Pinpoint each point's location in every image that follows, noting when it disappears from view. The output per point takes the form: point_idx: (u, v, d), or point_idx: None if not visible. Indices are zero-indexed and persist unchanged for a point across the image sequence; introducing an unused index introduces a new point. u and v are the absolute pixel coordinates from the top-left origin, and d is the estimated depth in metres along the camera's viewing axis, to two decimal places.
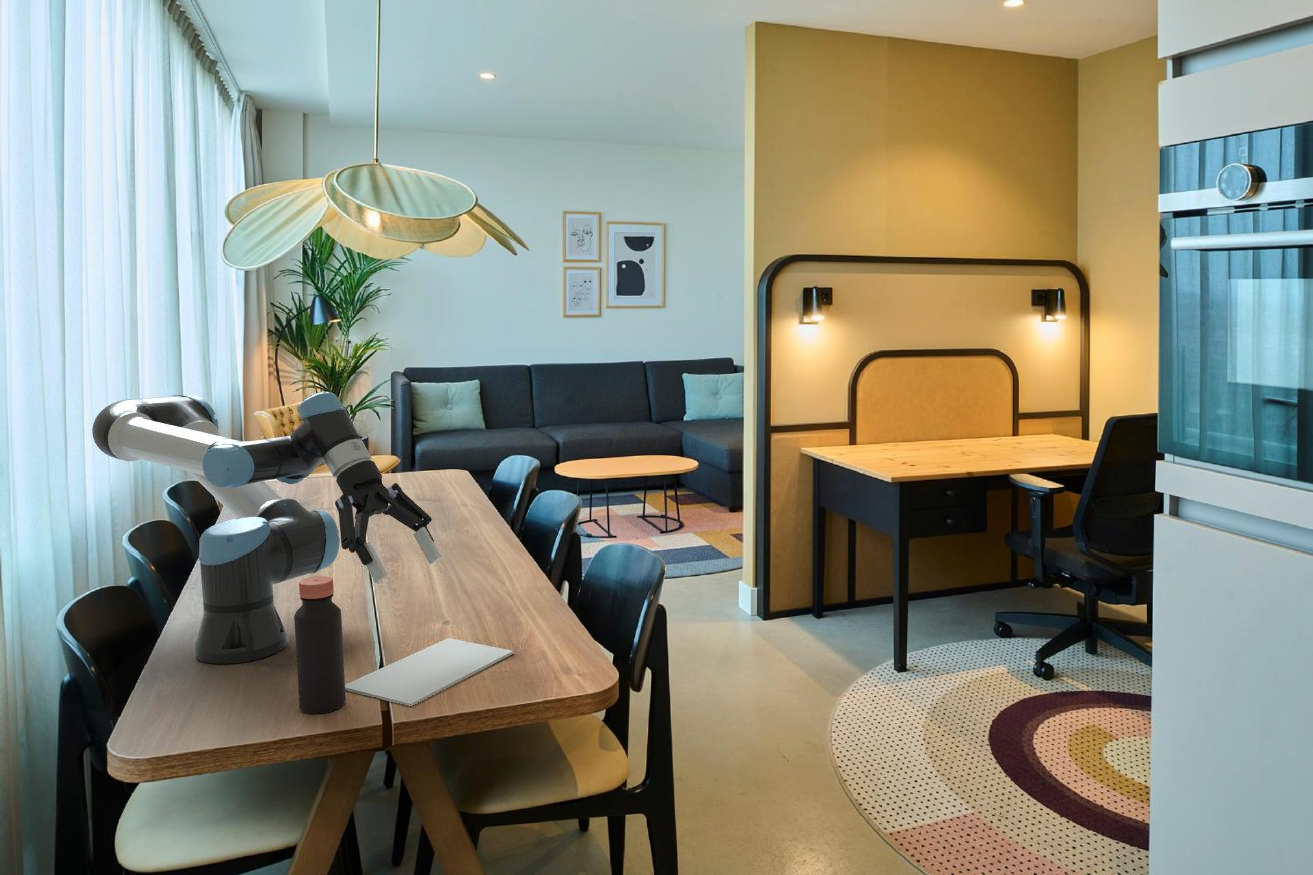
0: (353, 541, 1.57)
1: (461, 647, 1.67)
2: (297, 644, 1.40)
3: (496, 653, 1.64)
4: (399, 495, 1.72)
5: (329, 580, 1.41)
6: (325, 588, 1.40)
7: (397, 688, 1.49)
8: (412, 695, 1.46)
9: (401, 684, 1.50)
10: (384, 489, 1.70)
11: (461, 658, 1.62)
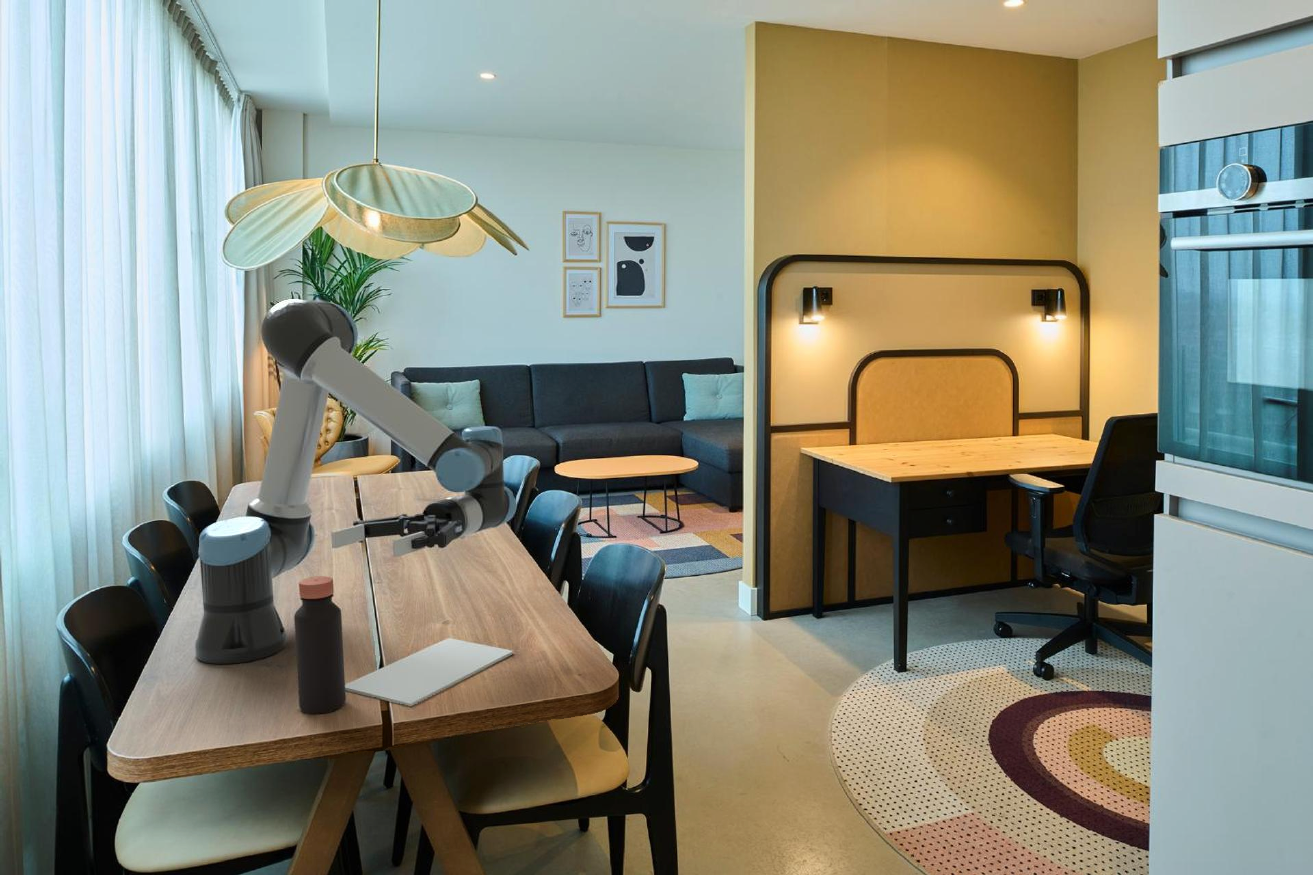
0: (440, 547, 1.51)
1: (461, 647, 1.67)
2: (297, 644, 1.40)
3: (496, 653, 1.64)
4: None
5: (329, 580, 1.41)
6: (325, 588, 1.40)
7: (397, 688, 1.49)
8: (412, 695, 1.46)
9: (401, 684, 1.50)
10: None
11: (461, 658, 1.62)
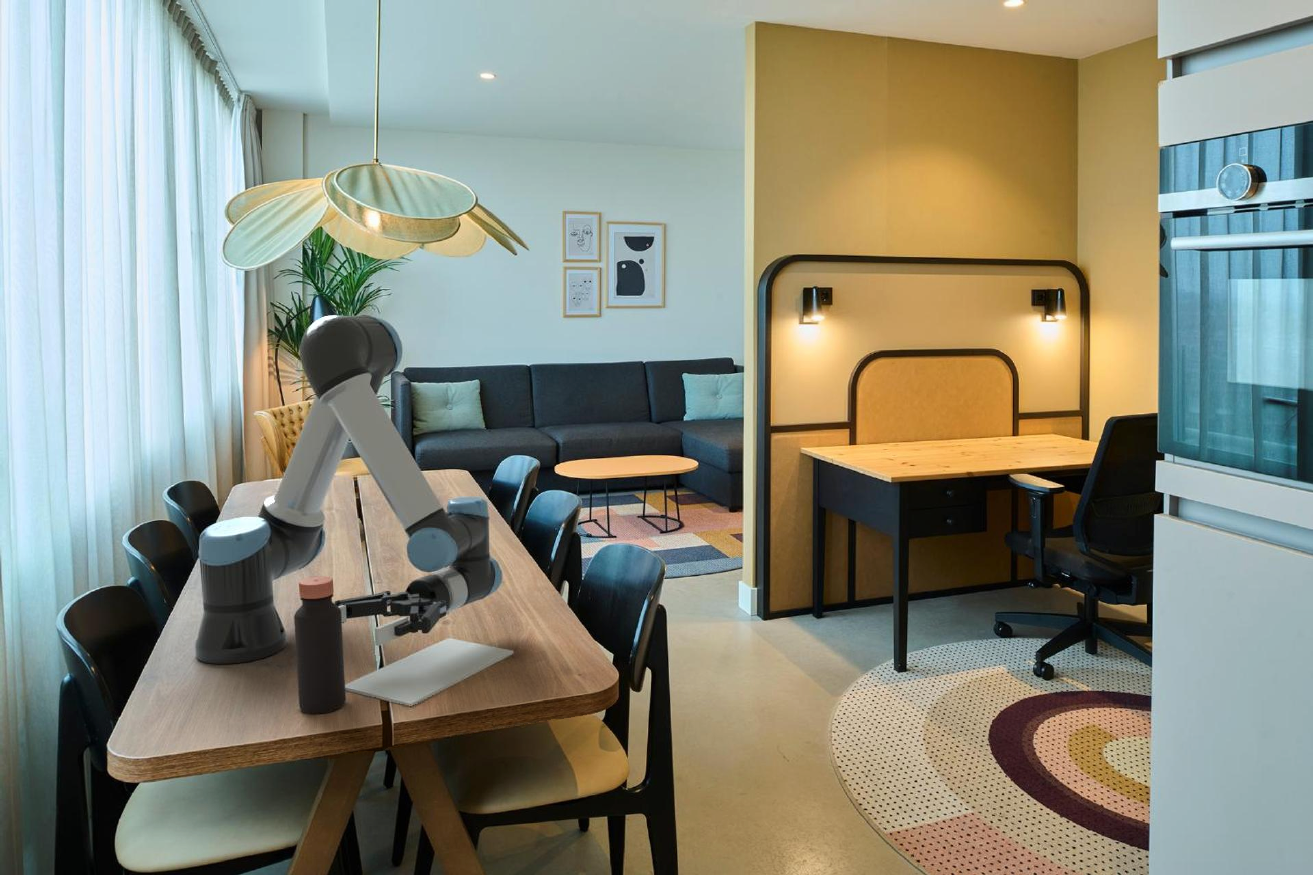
0: None
1: (461, 647, 1.67)
2: (297, 644, 1.40)
3: (496, 653, 1.64)
4: None
5: (329, 580, 1.41)
6: (325, 588, 1.40)
7: (397, 688, 1.49)
8: (412, 695, 1.46)
9: (401, 684, 1.50)
10: None
11: (461, 658, 1.62)
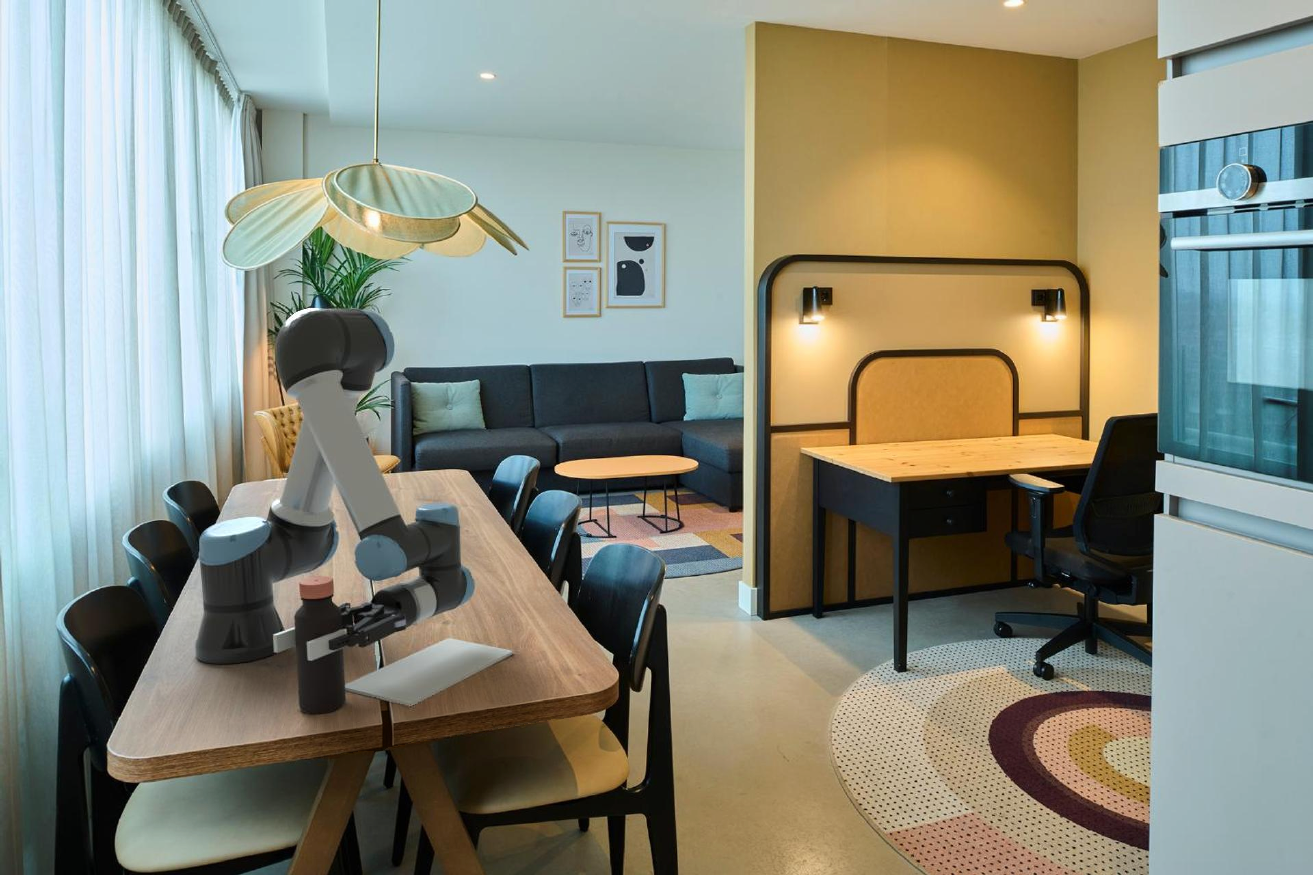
0: (360, 646, 1.41)
1: (461, 647, 1.67)
2: (297, 644, 1.40)
3: (496, 653, 1.64)
4: None
5: (329, 580, 1.41)
6: (326, 588, 1.40)
7: (397, 688, 1.49)
8: (412, 695, 1.46)
9: (401, 684, 1.50)
10: None
11: (461, 658, 1.62)
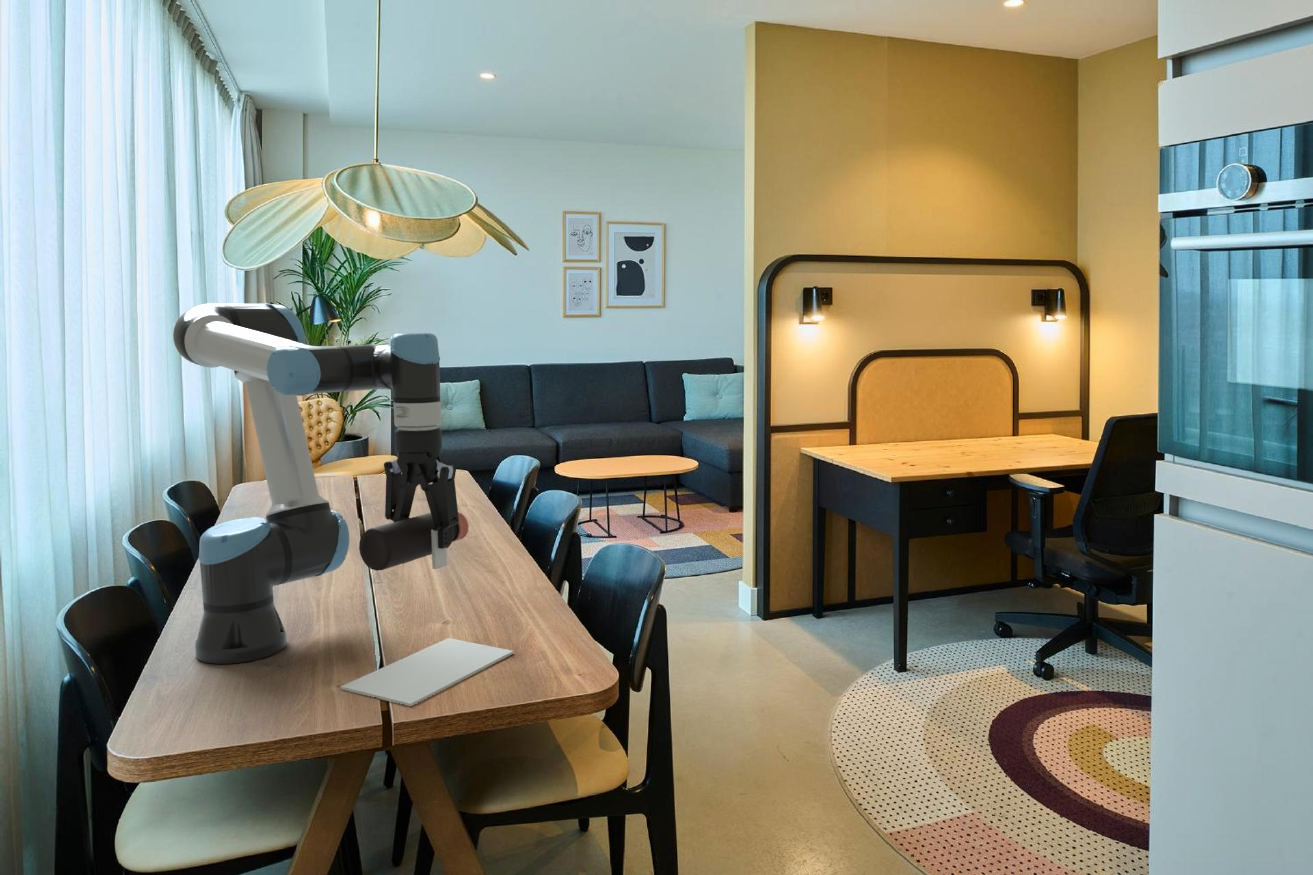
0: (388, 518, 1.55)
1: (461, 647, 1.67)
2: (426, 555, 1.54)
3: (496, 653, 1.64)
4: None
5: None
6: None
7: (397, 688, 1.49)
8: (412, 695, 1.46)
9: (401, 684, 1.50)
10: (429, 463, 1.50)
11: (461, 658, 1.62)
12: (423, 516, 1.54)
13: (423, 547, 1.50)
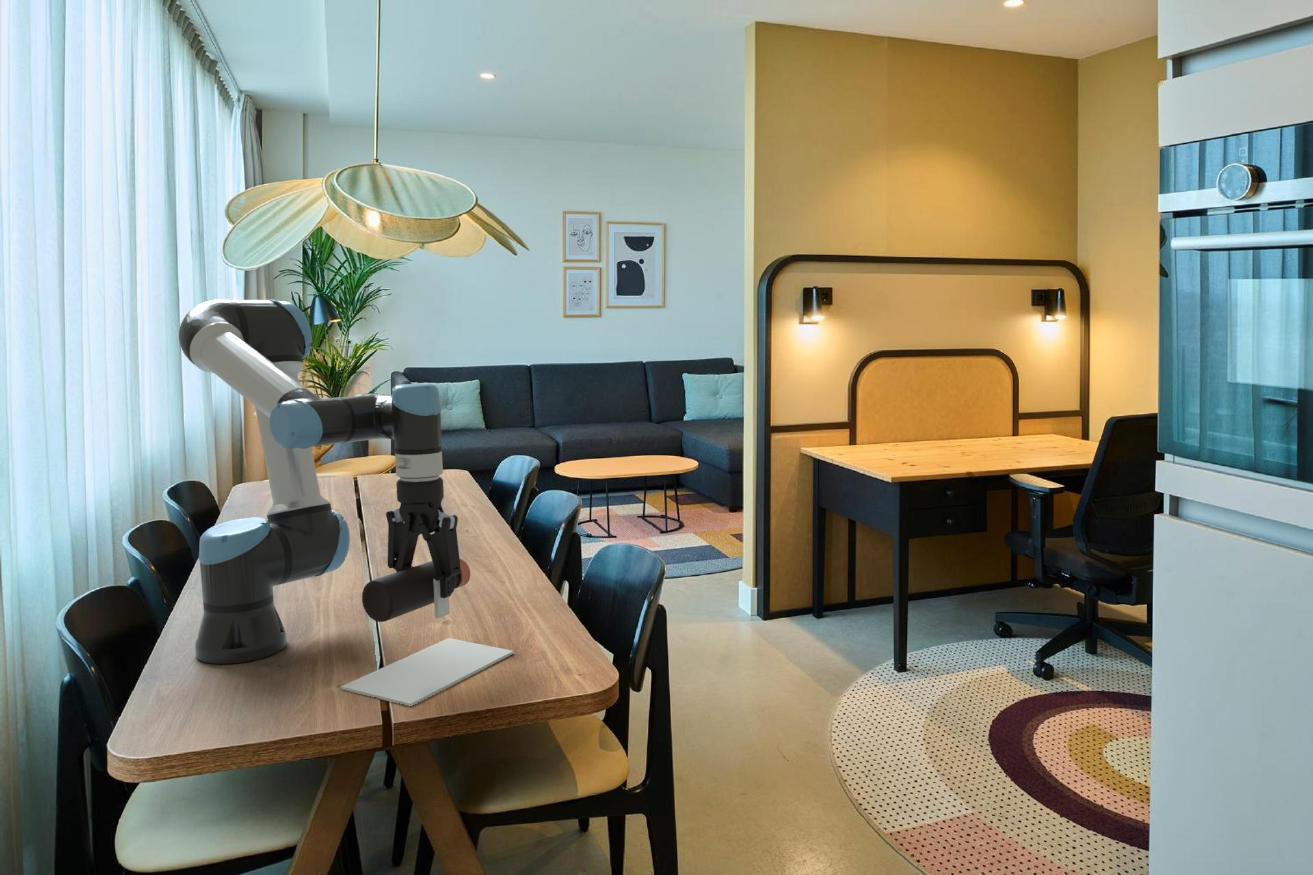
0: (390, 567, 1.56)
1: (461, 647, 1.67)
2: None
3: (496, 653, 1.64)
4: None
5: None
6: None
7: (397, 688, 1.49)
8: (412, 695, 1.46)
9: (401, 684, 1.50)
10: (431, 513, 1.51)
11: (461, 658, 1.62)
12: (425, 565, 1.54)
13: (426, 597, 1.51)
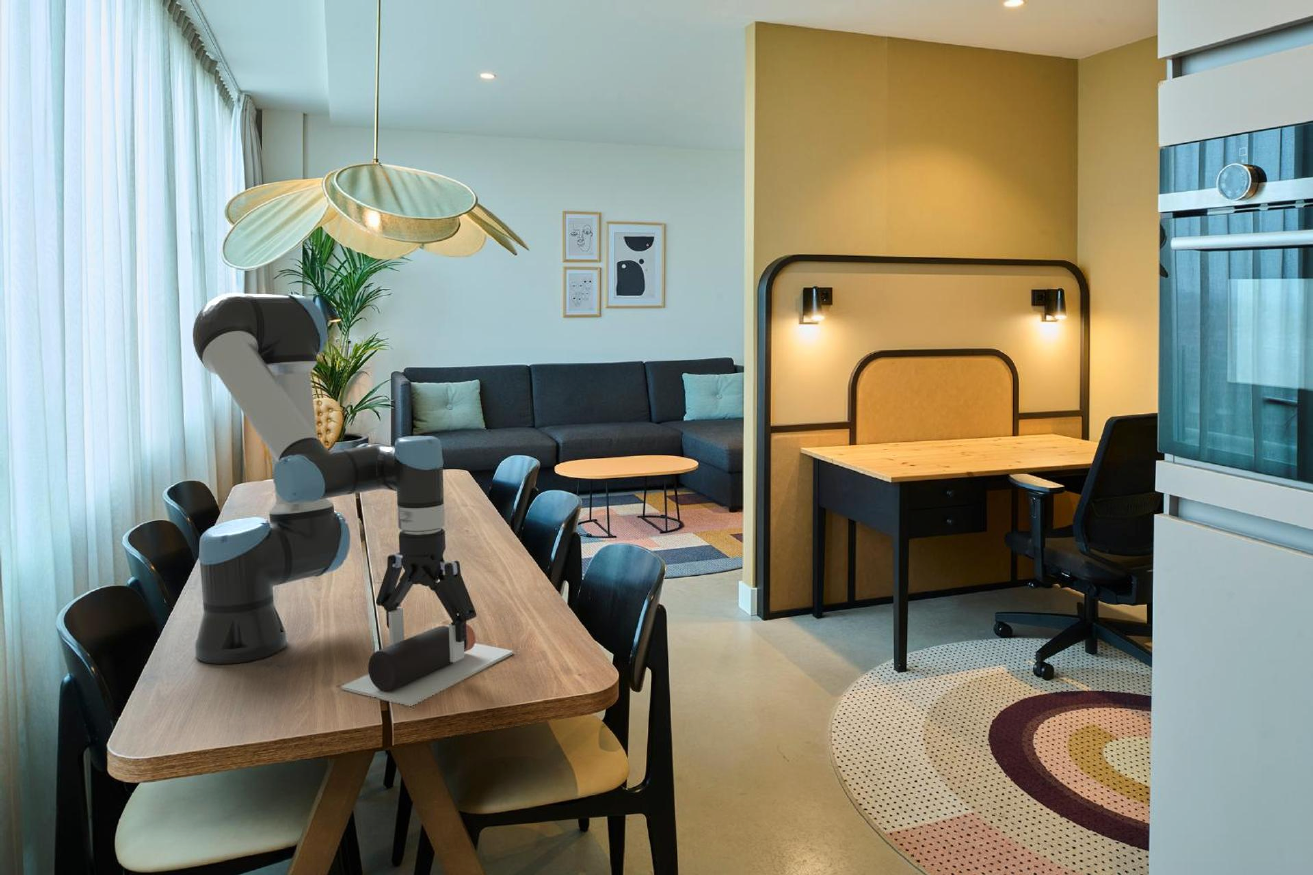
0: (378, 604, 1.59)
1: None
2: None
3: (496, 653, 1.64)
4: None
5: None
6: None
7: None
8: (412, 695, 1.46)
9: None
10: (432, 565, 1.52)
11: None
12: (435, 634, 1.55)
13: (430, 670, 1.52)
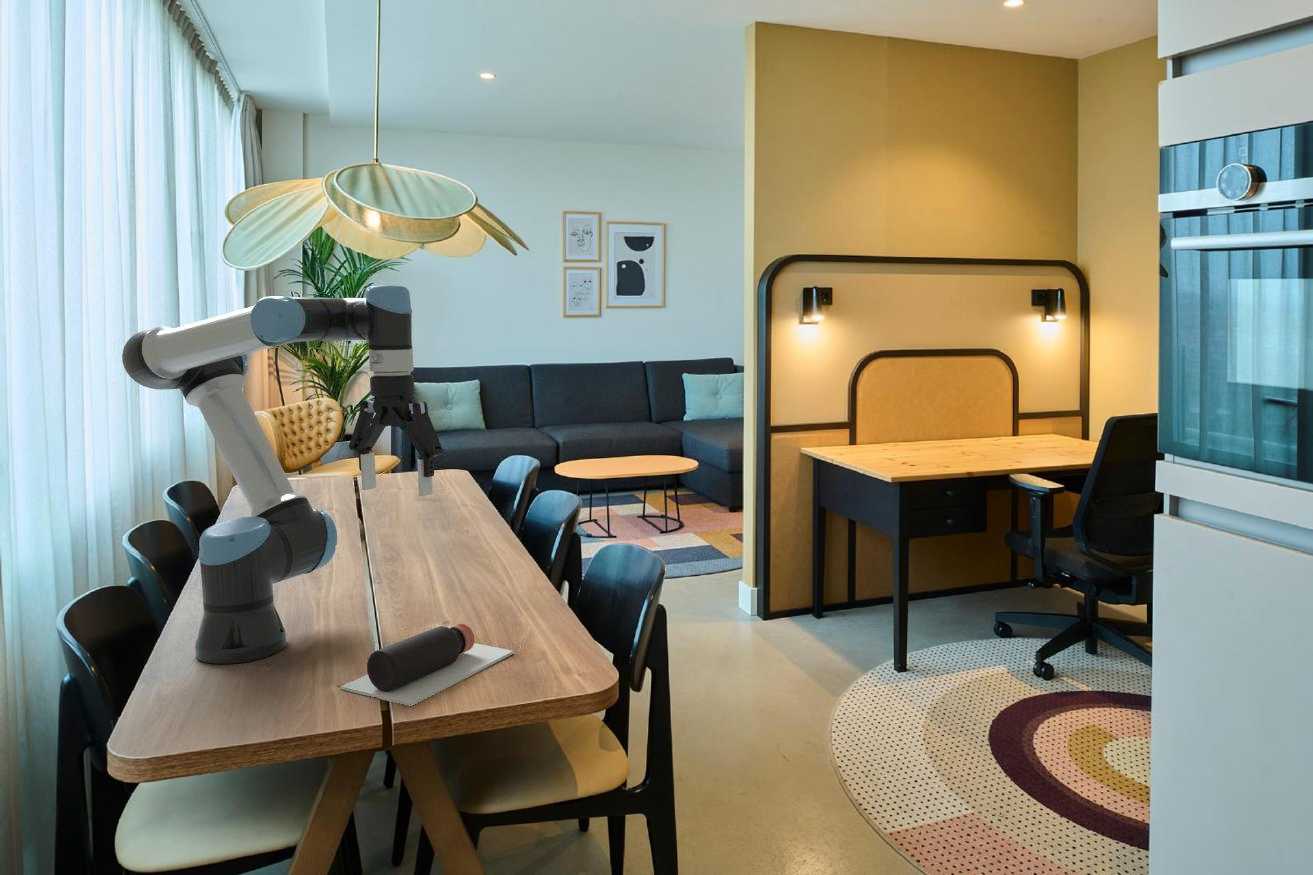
0: (351, 448, 1.69)
1: None
2: None
3: (496, 653, 1.64)
4: None
5: None
6: None
7: (397, 688, 1.49)
8: (412, 695, 1.46)
9: None
10: (401, 406, 1.62)
11: (461, 658, 1.62)
12: (433, 634, 1.56)
13: (429, 668, 1.52)
